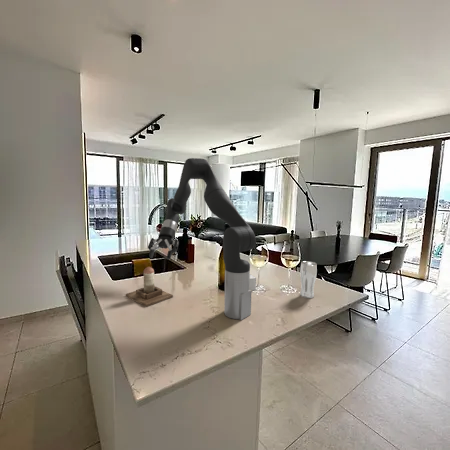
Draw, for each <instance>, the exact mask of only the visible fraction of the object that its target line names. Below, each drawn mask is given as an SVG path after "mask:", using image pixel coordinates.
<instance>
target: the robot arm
mask: <svg viewBox="0 0 450 450" xmlns="http://www.w3.org/2000/svg"><path fill="white" fill-rule="evenodd" d="M190 180H203V182H204V183H205V189H204V193H203V198H204V202H205V204H206V205H207V207H208V209H209V210H210V212H211V213H212V214H213V215H214V216H215V217H217V218H218V219H220V220H221V221H223V222H224V223H226V224H227V225H228V226H229V227H227V228H226V229H225V230H224V232H223V237H222V247H223V248H222V250H223V263H224V309H223V312H224V315H225V316H226V317H227V318H229V319H235V320H240V321H243V320H244V319H246V318H248V317H249V316H250V315H251V314H252V291H253V290H252V291H251V290H249V281H250V274H251V272H250V271H251V264H250V261H248V260H246V259H242V258H241V253H242V252H248V251H251V250H253V249H254V248H255V247H256V244H257V236H256V235H255V232H254V230H253V229H252V227H251V226H250V224H248V222H247V221H246V220H245V218H243V216H242V215H241V214H240V213H239V211H238V209H237V208H236V207H235V205H234V204H233V202H232V201H231V199H230V197H229V196H228V195H227V192H226V191H225V189H224V188H223V187H222V185H221V183H220V182H219V180H218V179H217V177H216V175H215V173H214V171H213V169H212V167H211V164H210V163H209V161H208V160H207V159H205V158H198V157H197V158H196V157H191V158H190V157H189V158H187V159H186V160H185V161H184V163H183V167H182V171H181V175H180V179H179V184H178V187H177V189H176V191H175V194H174V195H173V198H172V197H171V198H169V199H168V200H167V202H166V215H165V218H164V221H163V222H162V225H161V228H160V231H159V233H158V237H157V239H156V238H154V237H151V239H150V241H149V243H148V245H147V249H148V250H149V254H148V257H149V258H150V259H153V258H154V254H155V252H156V251H157V250H160V249H168V252H167V255H166V259H167V260H170V259H171V258H172V255H173V253H177V251H178V249H179V244H180V243H179V240H178V239H177V238H176V239H175V236H176V233H177V229H178V224H179V222H180V215H183V214H184V213H186V210H187V202H188V200H189V198H190V196H191V194H192V188H191V185H190V183H189V182H190ZM174 239H175V240H174ZM172 245H173V248H172Z"/></svg>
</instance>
